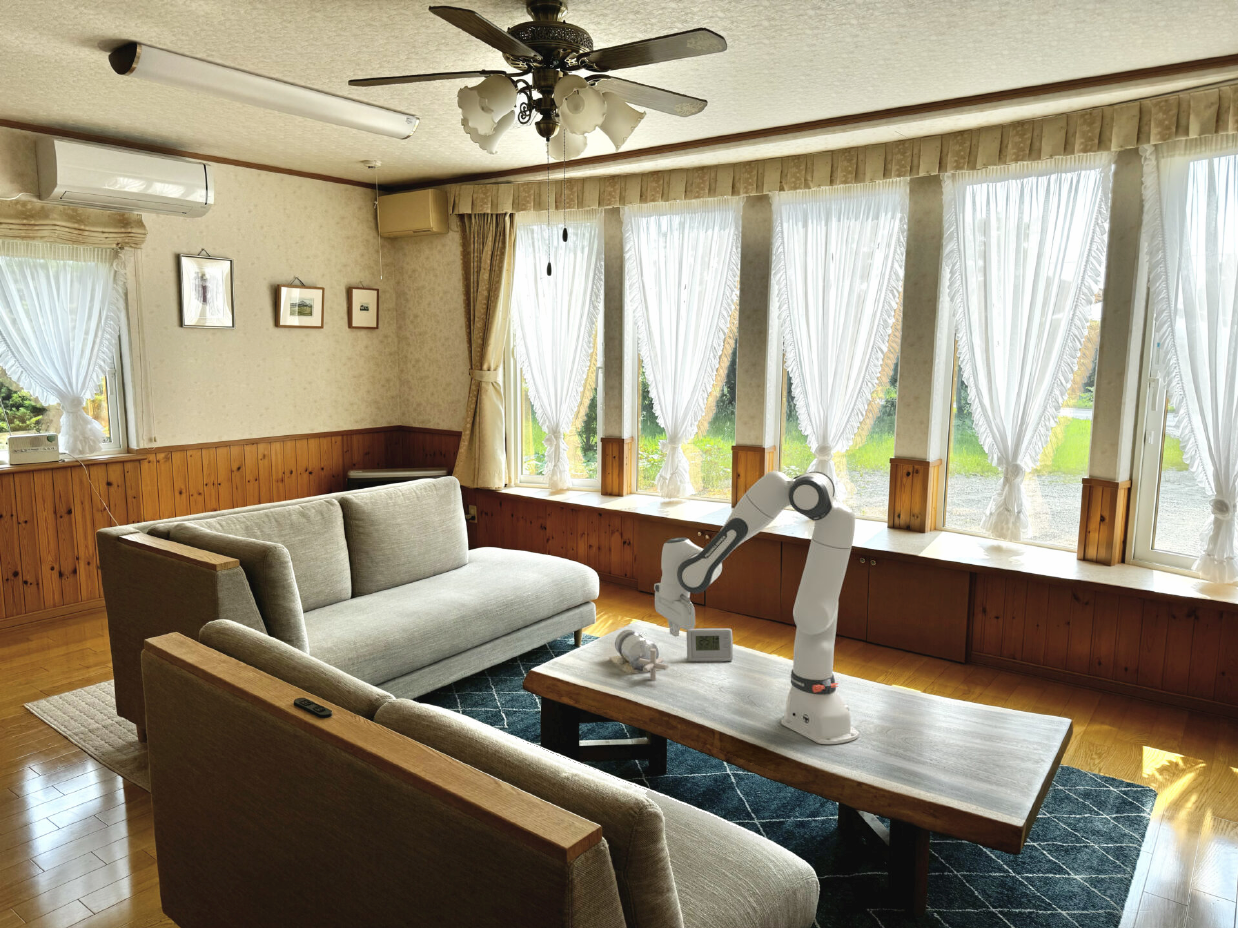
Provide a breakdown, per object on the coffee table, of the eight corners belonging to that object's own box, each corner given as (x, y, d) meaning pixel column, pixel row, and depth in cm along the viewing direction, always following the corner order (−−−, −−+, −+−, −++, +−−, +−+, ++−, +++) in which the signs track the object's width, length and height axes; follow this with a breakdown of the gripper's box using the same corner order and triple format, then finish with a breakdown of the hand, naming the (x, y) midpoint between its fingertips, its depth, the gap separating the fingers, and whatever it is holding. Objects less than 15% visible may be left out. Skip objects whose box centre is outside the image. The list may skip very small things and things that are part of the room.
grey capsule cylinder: (661, 669, 277) (662, 638, 275) (625, 674, 272) (626, 643, 270) (643, 655, 290) (644, 625, 288) (609, 659, 285) (609, 629, 283)
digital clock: (685, 662, 284) (686, 632, 283) (685, 653, 293) (686, 624, 292) (733, 665, 283) (734, 635, 281) (732, 656, 291) (733, 626, 290)
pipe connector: (658, 688, 262) (658, 657, 260) (631, 681, 267) (631, 651, 266) (674, 677, 270) (674, 647, 268) (648, 670, 275) (648, 641, 274)
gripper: (701, 598, 244) (699, 644, 246) (669, 581, 263) (668, 624, 265) (681, 601, 242) (680, 647, 244) (651, 583, 260) (650, 626, 262)
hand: (674, 634), depth 254 cm, fingers closed
